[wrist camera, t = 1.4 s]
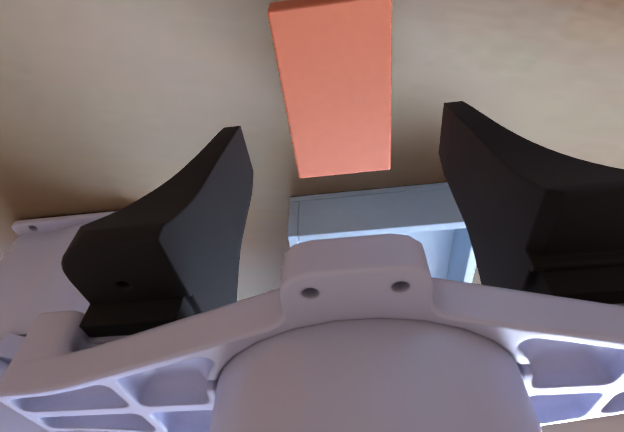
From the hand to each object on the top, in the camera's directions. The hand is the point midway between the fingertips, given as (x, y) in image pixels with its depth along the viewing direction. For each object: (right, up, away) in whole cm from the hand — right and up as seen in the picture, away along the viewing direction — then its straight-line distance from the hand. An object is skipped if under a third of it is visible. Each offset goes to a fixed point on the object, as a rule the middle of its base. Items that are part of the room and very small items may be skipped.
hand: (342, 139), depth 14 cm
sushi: (0, +5, +5) cm, 7 cm away
